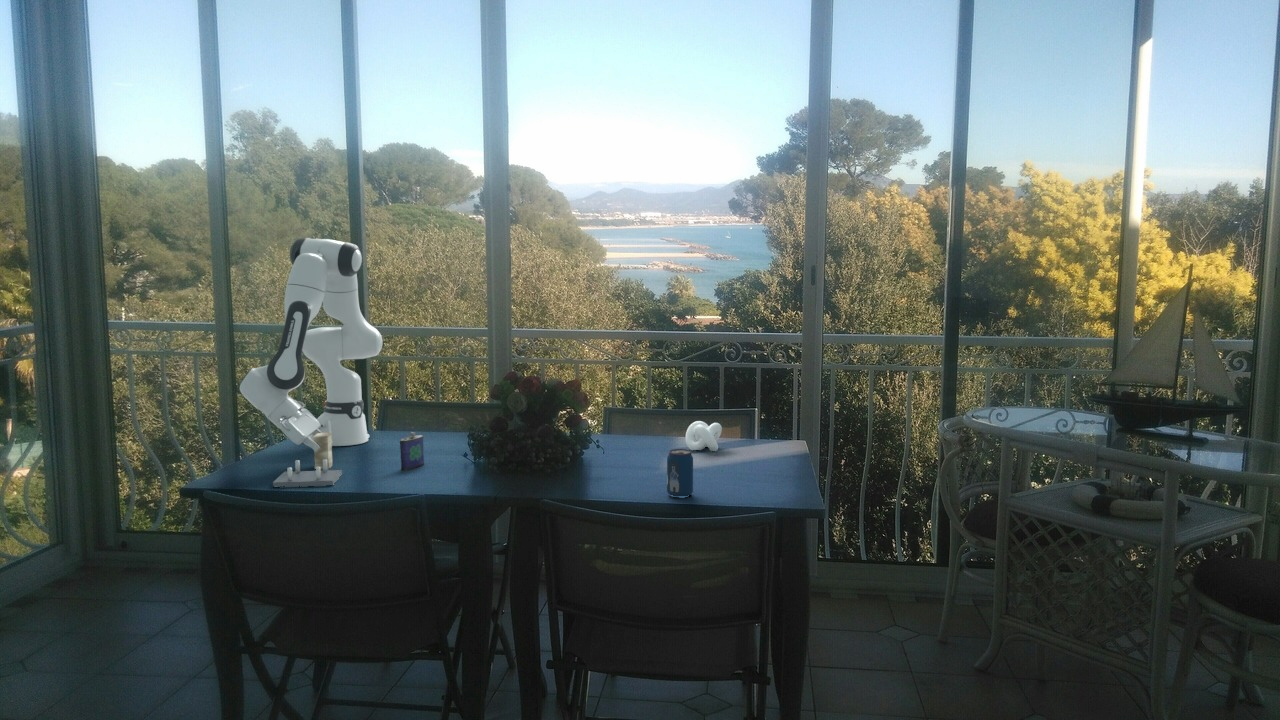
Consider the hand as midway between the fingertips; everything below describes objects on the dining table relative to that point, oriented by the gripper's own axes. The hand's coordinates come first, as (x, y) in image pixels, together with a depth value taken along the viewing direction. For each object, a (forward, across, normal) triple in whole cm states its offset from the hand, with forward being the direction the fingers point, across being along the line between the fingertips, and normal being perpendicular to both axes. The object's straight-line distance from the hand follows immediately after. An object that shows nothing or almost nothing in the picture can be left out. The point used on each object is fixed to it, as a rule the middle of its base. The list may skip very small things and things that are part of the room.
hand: (322, 445), depth 275 cm
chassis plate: (+4, -16, +5) cm, 18 cm away
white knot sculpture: (+88, +11, -78) cm, 118 cm away
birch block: (+5, 0, +5) cm, 7 cm away
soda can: (+77, -42, -66) cm, 110 cm away
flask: (+24, -2, -14) cm, 28 cm away
